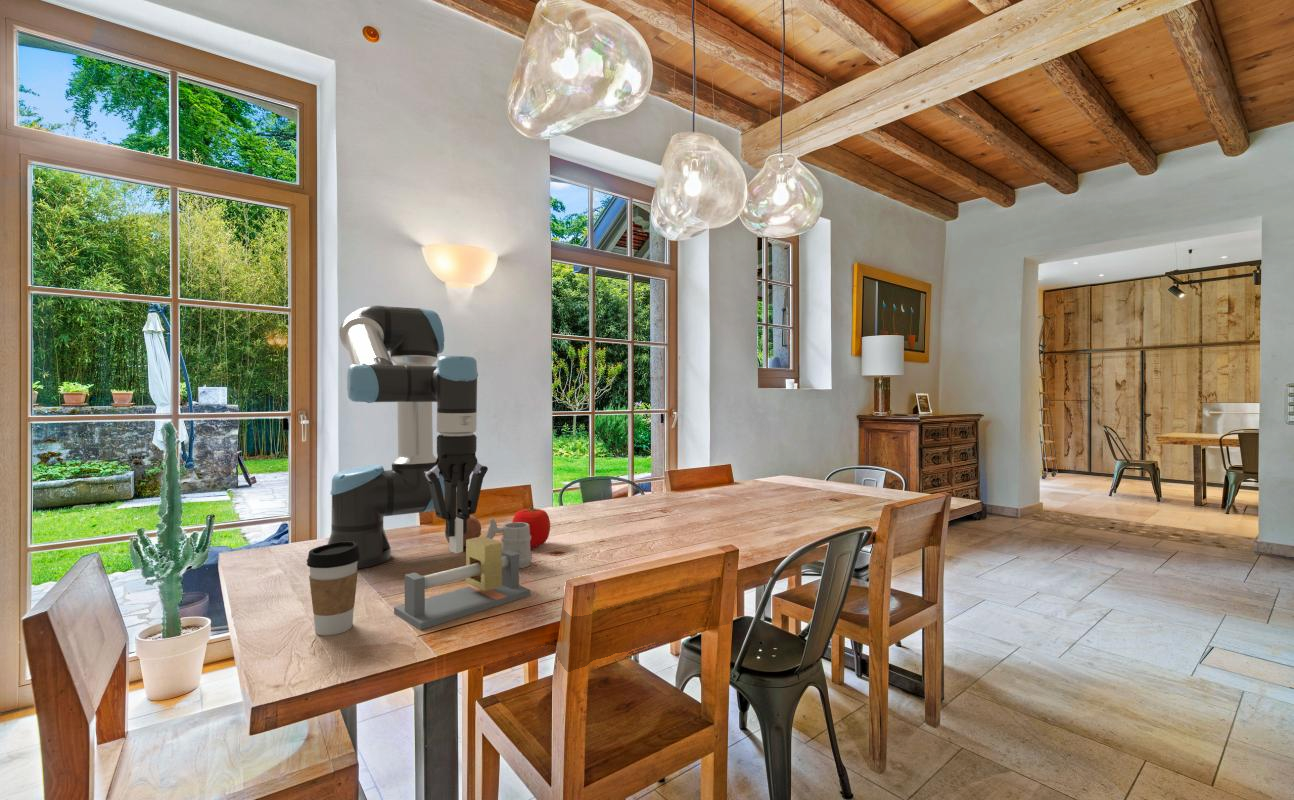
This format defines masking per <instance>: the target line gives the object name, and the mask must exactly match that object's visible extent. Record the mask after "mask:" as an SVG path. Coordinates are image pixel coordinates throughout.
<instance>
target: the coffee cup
mask: <svg viewBox="0 0 1294 800" xmlns="http://www.w3.org/2000/svg"><path fill="white" fill-rule="evenodd" d="M307 555H308V557H307V559H306V566H307V567H309V573H310V575H309V579H308V580H309V586H310V588H309V589H310V595H311V596H310V597H311V604H312V605H311V606H312V613H313V619H314V623H313V624H314V632H315V634H316V635H319V636H322V637H323V636H327V637H329V636H334V635H339V634H342V633H345V632H347V631H349V630H351V628H353V624H354V623H353V622H354V610H355V602H356V601H355V600H356V593H357V592H356V591H357V583H358V574H359V573H358V571H359V570H358V569H359V568H358V569H357V561H358V560H359V559H360V557H359V556H360V553H359V549H358V543H357V542H354V541H341V542H336V543H331V544H328V543H326V544H324V545H319V546H317V547H314V548H312V549H310V550H309V552H308V554H307Z"/></svg>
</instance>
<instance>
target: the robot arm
mask: <svg viewBox="0 0 1294 800" xmlns="http://www.w3.org/2000/svg"><path fill="white" fill-rule="evenodd" d="M339 338H340V341H341V344H342V346H343V347H344V348H345V349H346V350H347V351H348V353H349V356H350V360H351V362H352V364H351V365H350V366H349V367H348V369H347V375H346V376H347V377H346V387H347V388H346V389H347V397H348V399H349V400H350V401H352V402H355V403H356V402H357V403H359V402H360V403H367V404H372V403H373V404H374V403H397V405H396V406H397V457H396V458H395V459H394V460H393V461H392V462H391V470H390V469H389V470H388V469H387V470H385V468H384V466H383V465H380V464H372V465H361V466H357V467H351V468H346V469H344V470H341V471H339V472H337V473H335V474H334V475H333V476H332V478H331V489H330V493H329V494H330V495H331V530H330V531H331V532H330V536H329V538H328V541H327V544H331V543H336V542H341V541H354V542H357V543H358V549H359V553H360V556H359V557H360V559H359V560H358V561H357V569H365V568H370V567H373V566H378V565H380V564H384V563H386V562H387V561H389V560H390V559H391V558H392V556H391V555H392V549H391V548H392V547H391V545H390V542H389V539H388V536H387V533H386V531H385V529H384V518H385V517H390V516H393V517H394V516H400V515H410V514H411V515H412V514H417V513H419V514H424V513H428V512H435V516H436V517H437V518H440V519H442V520H445V529H446V535H447V536H449V542H448V546H449V547H448V548H449V549H448V551H450V552H452V553H454V554H459V553H460V554H461V553H463V552H464V547H463V534H466V531H467V519H469V518H470V516H469V515H474V514H475V513H476V512H477V509H478V504H479V500H480V495H481V491H482V490H481V489H482V484H483V481H484V478H485V475H486V474H487V472H488V470H489V467H488V466H486V465H482V464H481V463H479V461H478V458H477V455H476V453H477V447H478V446H477V438H478V437H477V435H476V434H474V433H475V432H476V431H477V417H478V415H477V414H478V413H477V405H478V403H477V402H478V401H477V400H478V376H479V372H478V364H477V359H476V358H475V357H472V356H466V355H464V356H463V355H460V356H459V355H441V356H439V357H438V355H439V354H442V352H444V349H445V332H444V327H443V323H442V320H441V317H440V316H439V314H438V313H437V312H436V311H434V310H431V309H425V308H424V309H423V308H420V307H419V308H414V307H400V306H399V307H398V306H385V305H368V306H365V307H362V308H358V309H356V310H354V311H353V312H351V313H349V315H347V316H346V317H345V318H344V319H343V321H342V323H341V324H340V328H339ZM388 352H390V354H389V353H388ZM436 361H437V366H433V364H434V363H436ZM394 363H395V364H394ZM433 403H436V404H437V405H436V406H437V407H436V411H437V412H436V433H439V434H438V435H437V436H436V454H437V455H436V456H435V455H434V447H433V445H434V444H433V442H434V441H433V440H434V439H433V438H434V437H433V434H434V433H433V427H434V426H433ZM471 474H472V475H471ZM470 476H471V479H470ZM456 515H457V516H458V518H457V517H456Z"/></svg>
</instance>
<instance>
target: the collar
mask: <svg viewBox="0 0 1294 800" xmlns="http://www.w3.org/2000/svg"><path fill="white" fill-rule="evenodd" d="M502 544H503V542H502V541H500V540H496V539H494V538H492V539H490V538H487V537H486V536H484V535H480V536H479V537H476V538H471V539H467V540H466V547H465V566H467V565H471V564H475V563H479V562H480V561H481V574H480V575H476V576H472V577H469V578H465V583H466V584H468V585H469V586H471V585H472V586H474V587H476V588H478V589H481V590H483V591H488V590H491V589H494V588H498V587H501V586H502Z"/></svg>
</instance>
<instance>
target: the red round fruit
mask: <svg viewBox="0 0 1294 800" xmlns="http://www.w3.org/2000/svg"><path fill="white" fill-rule="evenodd" d="M515 522H523V523H528V524H529V527H530V535H531V540H530V549H533V548H534V549H535V548H537V547H539V546H542V545H543V544H545V543H546V541H548V538H549V535H550V531H551V521H550V517H549V514H548V513H547V511H546V510H543V509H541V508H540V509H538V508H536V507H535V508H533V507H530V508H523V509H520V510H518V511H517V512H516V513H515V514H514V516H513V519H512V521H511V523H515Z"/></svg>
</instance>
